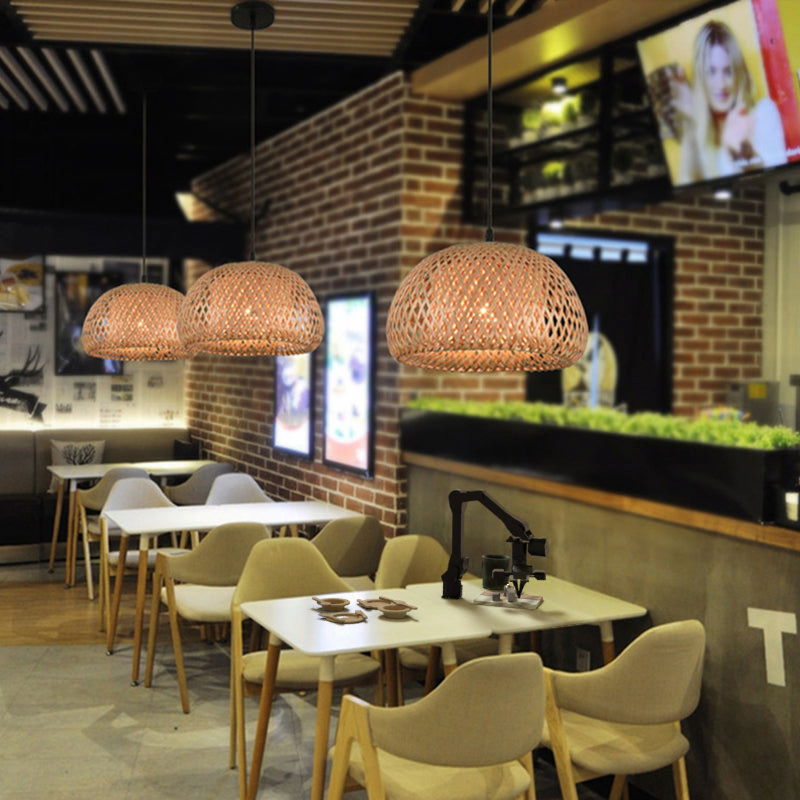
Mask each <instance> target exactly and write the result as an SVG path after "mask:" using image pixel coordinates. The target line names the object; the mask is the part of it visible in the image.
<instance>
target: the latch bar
mask: <svg viewBox="0 0 800 800" xmlns="http://www.w3.org/2000/svg"><path fill="white" fill-rule="evenodd" d="M503 593H504V595H506V597H507V599H508V601H515V594H516V590H515V587H514V585H512V584H510V583H509V584H507V585H506V586H504V589H503Z"/></svg>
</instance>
